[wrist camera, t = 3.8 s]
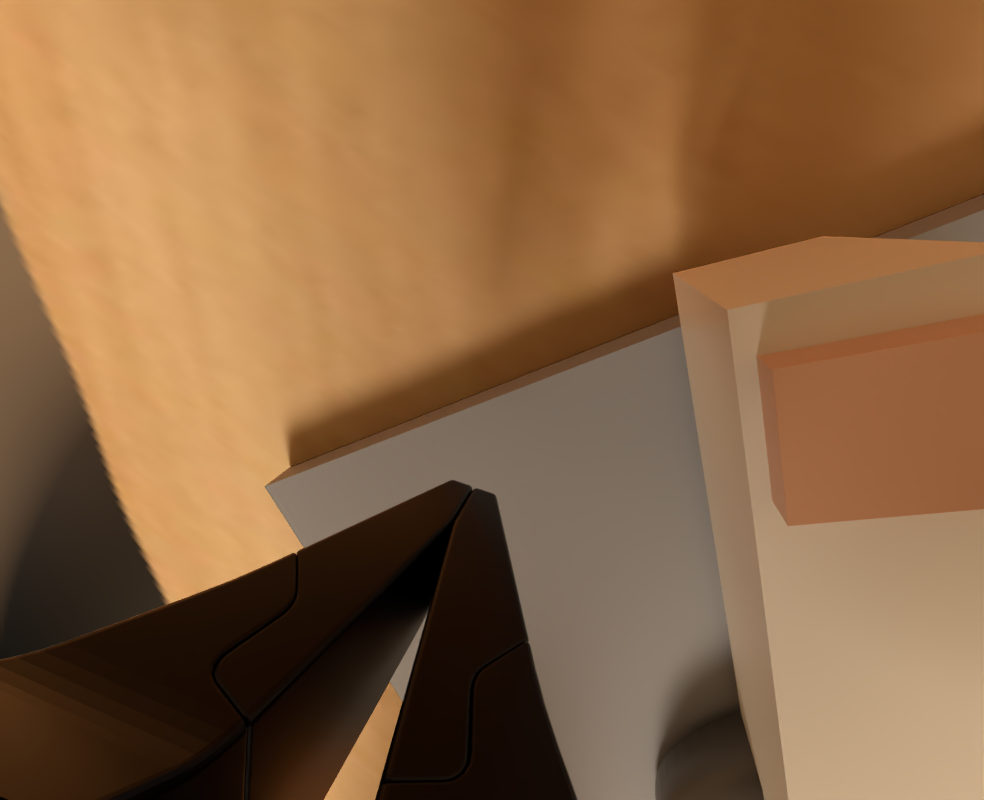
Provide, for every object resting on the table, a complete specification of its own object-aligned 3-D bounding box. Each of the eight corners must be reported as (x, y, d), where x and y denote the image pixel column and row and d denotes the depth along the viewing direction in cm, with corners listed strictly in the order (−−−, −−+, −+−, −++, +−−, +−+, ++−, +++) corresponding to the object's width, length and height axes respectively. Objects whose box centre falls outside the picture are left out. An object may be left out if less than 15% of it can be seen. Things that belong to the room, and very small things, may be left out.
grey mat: (596, 963, 18) (595, 1011, 17) (289, 467, 13) (259, 490, 12) (1590, 1048, 10) (1710, 1148, 9) (1826, -138, 5) (2170, -241, 4)
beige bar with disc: (981, 923, 11) (1181, 1293, 7) (676, 884, 13) (706, 1157, 9) (1021, 187, 6) (1663, 122, 3) (535, 307, 8) (477, 374, 5)
